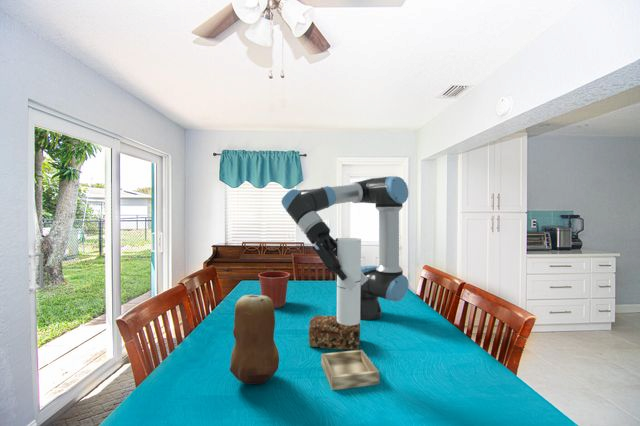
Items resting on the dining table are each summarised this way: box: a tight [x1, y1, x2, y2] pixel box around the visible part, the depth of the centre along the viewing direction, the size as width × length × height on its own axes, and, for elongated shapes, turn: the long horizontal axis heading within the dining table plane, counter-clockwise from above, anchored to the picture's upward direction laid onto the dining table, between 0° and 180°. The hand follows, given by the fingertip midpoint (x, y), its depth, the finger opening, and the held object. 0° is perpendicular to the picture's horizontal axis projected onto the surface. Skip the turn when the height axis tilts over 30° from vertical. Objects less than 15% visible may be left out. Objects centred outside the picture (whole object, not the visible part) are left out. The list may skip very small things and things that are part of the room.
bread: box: [308, 314, 361, 351], centre depth 113 cm, size 19×11×10 cm, turn 82°
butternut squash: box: [229, 293, 280, 386], centre depth 88 cm, size 14×13×25 cm
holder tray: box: [320, 349, 380, 391], centre depth 92 cm, size 14×14×4 cm
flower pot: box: [257, 270, 291, 309], centre depth 157 cm, size 16×16×16 cm
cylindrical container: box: [336, 237, 362, 325], centre depth 91 cm, size 7×7×25 cm
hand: (359, 284), depth 89 cm, fingers closed on cylindrical container, 7 cm apart
